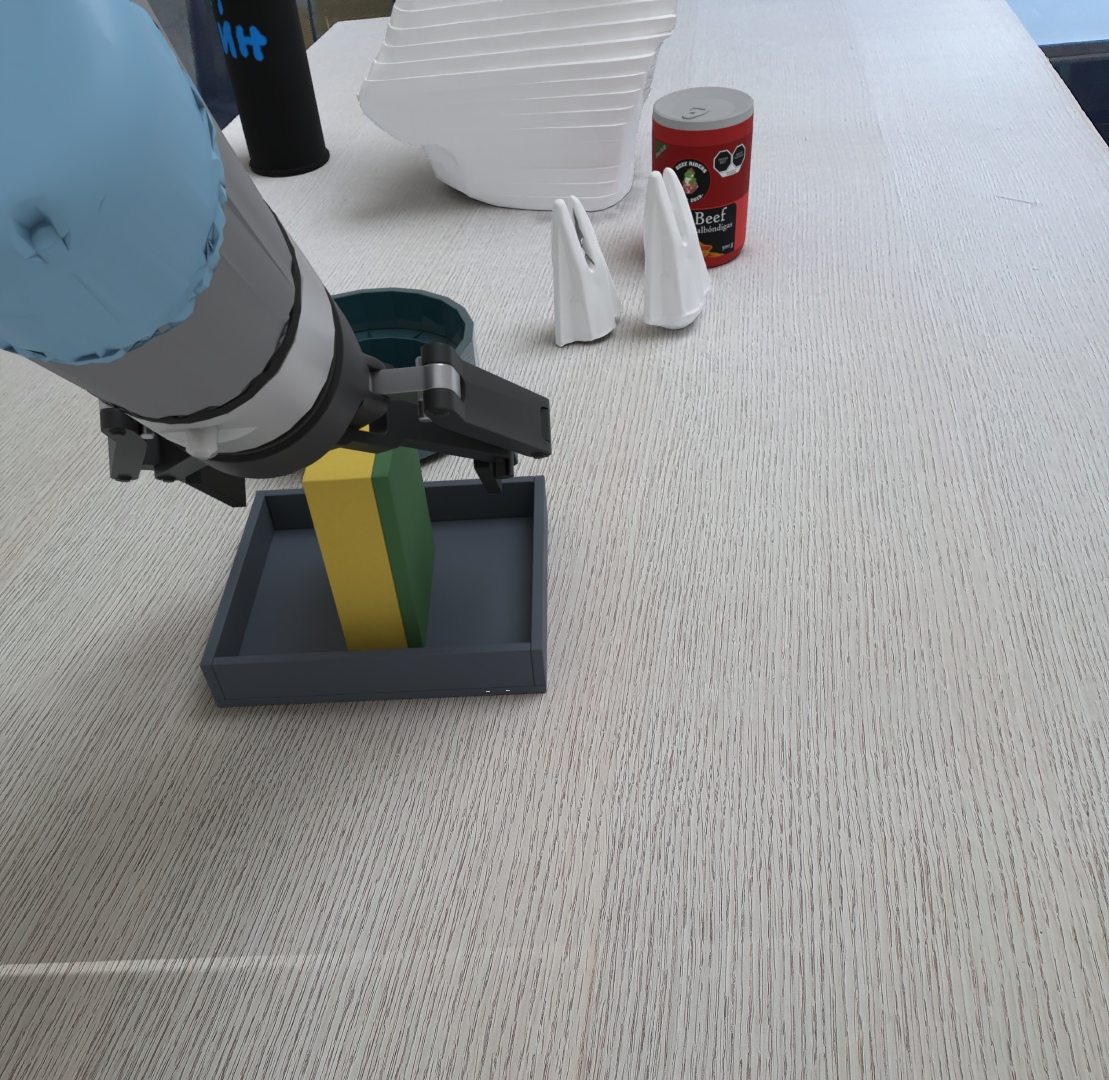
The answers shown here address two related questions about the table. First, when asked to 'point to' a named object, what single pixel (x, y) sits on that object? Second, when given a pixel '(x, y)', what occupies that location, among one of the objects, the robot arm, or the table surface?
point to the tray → (454, 613)
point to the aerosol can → (271, 84)
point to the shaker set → (669, 266)
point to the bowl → (407, 325)
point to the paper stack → (520, 93)
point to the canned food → (708, 161)
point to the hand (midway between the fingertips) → (365, 474)
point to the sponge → (374, 543)
